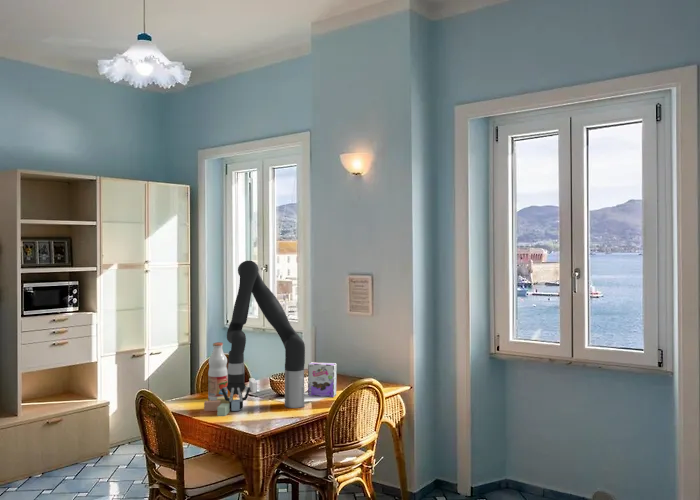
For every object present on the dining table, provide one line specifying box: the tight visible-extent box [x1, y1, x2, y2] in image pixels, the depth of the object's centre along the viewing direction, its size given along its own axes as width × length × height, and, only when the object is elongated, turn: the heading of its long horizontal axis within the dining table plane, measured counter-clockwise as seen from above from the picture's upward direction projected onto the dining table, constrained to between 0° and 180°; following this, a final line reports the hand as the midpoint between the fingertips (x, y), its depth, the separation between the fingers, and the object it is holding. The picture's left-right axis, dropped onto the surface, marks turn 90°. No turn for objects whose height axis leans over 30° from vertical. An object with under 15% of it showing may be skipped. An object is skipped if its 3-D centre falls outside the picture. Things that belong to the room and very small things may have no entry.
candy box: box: [307, 361, 338, 398], centre depth 315 cm, size 14×6×16 cm, turn 76°
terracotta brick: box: [203, 400, 221, 412], centre depth 287 cm, size 7×4×4 cm, turn 98°
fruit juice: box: [207, 341, 229, 401], centre depth 307 cm, size 9×9×28 cm
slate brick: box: [230, 398, 240, 412], centre depth 287 cm, size 7×4×4 cm, turn 5°
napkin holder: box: [248, 377, 258, 393], centre depth 329 cm, size 15×11×6 cm
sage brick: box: [216, 403, 231, 417], centre depth 280 cm, size 7×4×4 cm, turn 176°
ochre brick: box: [217, 396, 234, 404], centre depth 294 cm, size 7×4×4 cm, turn 107°
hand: (236, 409), depth 287 cm, fingers closed on slate brick, 3 cm apart
